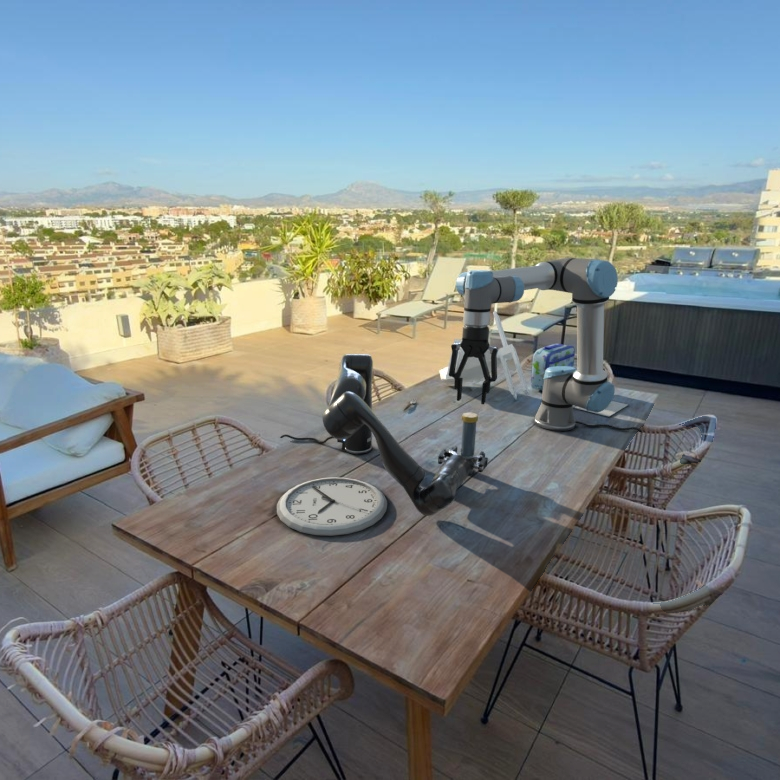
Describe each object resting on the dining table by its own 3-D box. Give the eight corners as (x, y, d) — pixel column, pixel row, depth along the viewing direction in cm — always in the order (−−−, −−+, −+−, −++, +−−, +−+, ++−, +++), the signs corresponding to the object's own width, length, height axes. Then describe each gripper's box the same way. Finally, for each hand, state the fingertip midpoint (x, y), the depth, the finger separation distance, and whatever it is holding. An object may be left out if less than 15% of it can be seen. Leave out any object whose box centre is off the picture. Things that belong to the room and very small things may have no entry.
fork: (400, 411, 216) (400, 406, 215) (412, 399, 230) (412, 395, 230) (406, 412, 215) (406, 407, 215) (418, 400, 230) (418, 396, 229)
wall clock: (392, 527, 129) (268, 531, 127) (391, 533, 130) (269, 537, 127) (383, 473, 158) (282, 475, 155) (383, 478, 158) (282, 480, 156)
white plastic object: (461, 429, 252) (437, 405, 227) (444, 352, 274) (420, 323, 250) (535, 404, 240) (518, 377, 215) (510, 326, 262) (492, 293, 237)
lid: (470, 416, 162) (470, 411, 162) (480, 421, 158) (481, 415, 158) (459, 419, 160) (459, 413, 159) (469, 424, 156) (469, 418, 156)
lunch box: (547, 395, 239) (552, 351, 233) (526, 390, 247) (530, 347, 240) (574, 384, 257) (579, 343, 251) (554, 380, 264) (558, 339, 258)
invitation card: (608, 416, 214) (573, 407, 224) (608, 416, 214) (573, 408, 224) (628, 404, 229) (594, 396, 238) (628, 405, 229) (594, 397, 238)
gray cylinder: (467, 467, 167) (470, 413, 161) (475, 472, 164) (479, 417, 158) (457, 470, 165) (460, 415, 159) (465, 475, 162) (469, 419, 156)
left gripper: (478, 465, 146) (492, 444, 160) (430, 455, 152) (448, 436, 166) (476, 489, 148) (490, 466, 162) (429, 479, 154) (446, 458, 168)
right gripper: (512, 326, 150) (506, 401, 157) (446, 320, 157) (443, 393, 164) (508, 330, 144) (501, 409, 151) (439, 324, 151) (436, 400, 157)
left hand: (469, 451), depth 164 cm, fingers open, 8 cm apart
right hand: (471, 401), depth 157 cm, fingers open, 7 cm apart
